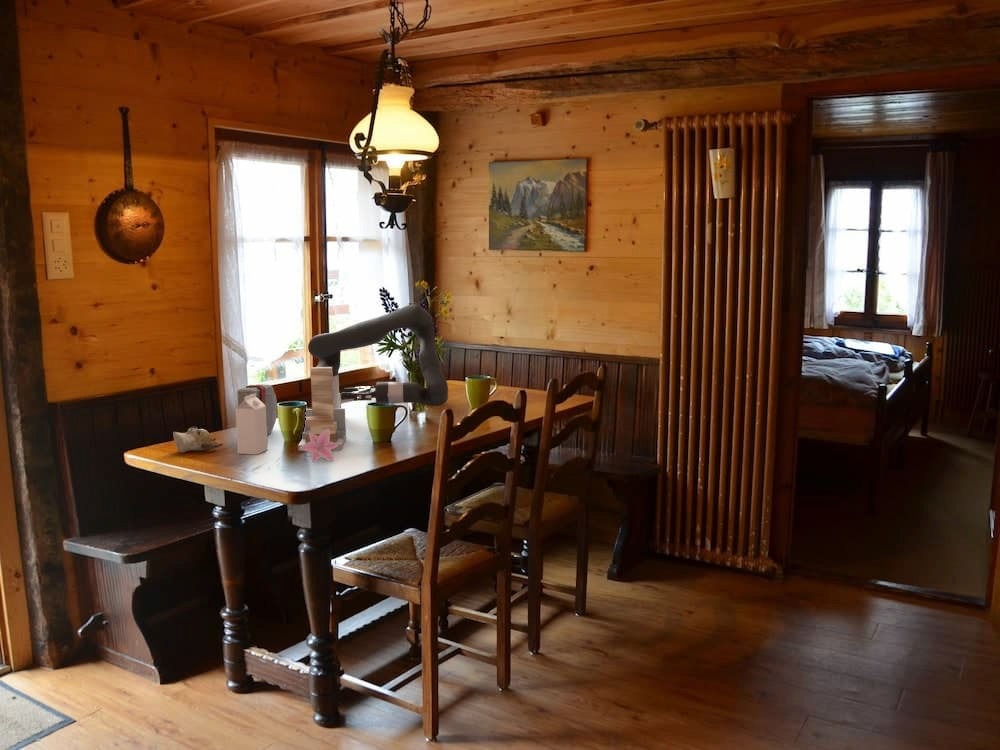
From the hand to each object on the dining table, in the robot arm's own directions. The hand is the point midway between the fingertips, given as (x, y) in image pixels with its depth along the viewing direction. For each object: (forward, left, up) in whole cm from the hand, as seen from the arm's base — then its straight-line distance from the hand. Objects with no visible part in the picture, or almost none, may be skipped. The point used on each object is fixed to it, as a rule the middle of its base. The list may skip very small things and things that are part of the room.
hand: (342, 393), depth 299 cm
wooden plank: (+4, -5, -15) cm, 16 cm away
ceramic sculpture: (+34, -35, -17) cm, 51 cm away
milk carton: (+26, -17, -17) cm, 35 cm away
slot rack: (+6, -4, -17) cm, 18 cm away
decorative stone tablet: (+10, -31, -17) cm, 36 cm away
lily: (+22, +9, -17) cm, 30 cm away
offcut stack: (+9, -2, -15) cm, 18 cm away
